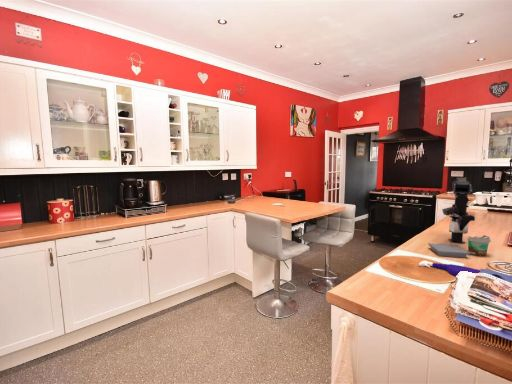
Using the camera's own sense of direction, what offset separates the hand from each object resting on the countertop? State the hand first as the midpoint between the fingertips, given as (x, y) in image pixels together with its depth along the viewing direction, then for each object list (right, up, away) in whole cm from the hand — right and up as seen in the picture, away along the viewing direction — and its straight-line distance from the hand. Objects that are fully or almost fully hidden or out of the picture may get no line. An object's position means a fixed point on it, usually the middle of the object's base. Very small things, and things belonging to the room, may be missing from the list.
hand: (458, 229), depth 149 cm
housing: (0, -1, 0) cm, 1 cm away
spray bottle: (-29, -15, -32) cm, 46 cm away
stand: (-13, -12, -8) cm, 19 cm away
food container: (+3, -13, -11) cm, 17 cm away
